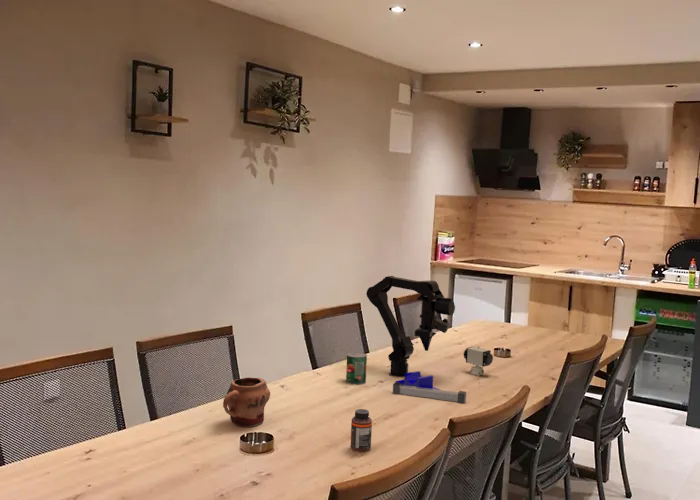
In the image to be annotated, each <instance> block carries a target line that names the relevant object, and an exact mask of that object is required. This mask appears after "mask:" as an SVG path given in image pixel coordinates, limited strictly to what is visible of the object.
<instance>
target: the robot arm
mask: <svg viewBox="0 0 700 500" xmlns="http://www.w3.org/2000/svg"><path fill="white" fill-rule="evenodd" d="M392 287H394V288H400V289H403V290H409V291H414V292H416V293H417V294H419V296H417V298H416V301H421V307H420V309H421V311H420V312H421V314H420V315H419V318H420V324H419V327H418V328H417V329H415V331H414V337H419V339H420V341H421V344H422V346H423V350H424V351H425V352H428V351H429V349H430V345H431V342H432V338H433V337H434V336H435V335H436V334H437V332H438V331H440V332H441V333H443V334H446V333H447V331H448V330H449V328H450V323H449V319H447V318H446V317H444V318H443V319H440V318H438V315H437V314H439V315H443V316H444V315H446V316H453V315H454V313H455V310H456V305H455V301H453V300H454V299H453V297H445V296H444V294H443V293H442V291H441V289H440V286H439V284H438V282H437V281H436V280H413V279H408V278H403V277H397V276H394V275H388V276H384V278H383V279H382V280H381V281H379V282H377V283H375V284H374V285H373V286H370V287H368V288H367V290H366V293H365V294H366V297H367V298H368V300H369V302H370V303H371V304H372V305H373V306H374V307H375V308H377V310H378V312H379V315H380V318H382V321H383V324H384V325H385V327H386V330H387V331H388V333H389V336H390V337H391V347H392V350H393V351H392V352H391V353H389V354H388V360H389V362H390V372H389V373H388V375H389V376H394V377H401V378H402V377H403V378H404V373H409V363H408V360H409V359H410V357H411V356H412V355H413V353H414V349H415V348H414V343H413V342H412V339H411V337H410V336H406V335H404V334H403V332H402V330H401V328H400V325H399V323H398V322H397V320H396V317H395V316H394V313H393V311H392V309H391V308H390V305H389V303H388V302H389V300H388V299H389V298H388V297H389V296H388V292H389V291H390V290H391V289H392ZM436 313H437V314H436ZM434 330H436V331H437V332H434Z"/></svg>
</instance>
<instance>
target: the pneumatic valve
mask: <svg viewBox="0 0 700 500" xmlns="http://www.w3.org/2000/svg"><path fill="white" fill-rule="evenodd" d="M463 358H464V359H465V363H466V364H471V365H472V366H471V368H470V372H471V373H470V374H471V375H473V376H477V377H480V376H482V375H484V374H485V370H484V368H485V367H488V366H490V365H491V364H493V363H492V362H493V360H494V355H493V354H492V353H491V350H490V349H485V348H481V347H480V346H477V347H476V346H470V347H467V348H465V350H464V351H463Z"/></svg>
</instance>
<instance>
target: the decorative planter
mask: <svg viewBox="0 0 700 500" xmlns="http://www.w3.org/2000/svg"><path fill="white" fill-rule="evenodd" d="M270 398H271V391H270V389H269V388H268V385H267V382H266V380H265V379H263V378H261V377H244V378H238V379H234V380H232V381H231V383H230V385H229V388H228V390H227V392H226V395H224V398H223V403H222V407H223V409H224V411H225V413H226V414H228V415H229V417H230V421H231V424H233V423H234V424H233V425H235V424H236V425H235V426H237V425H240V426H239V427H243V426H244V427H245V428H248V427H255V426H258V425H261V424H262V423H263V422H264V421H265V407H266V404H267V403H268V402H269V400H270Z"/></svg>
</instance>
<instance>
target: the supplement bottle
mask: <svg viewBox="0 0 700 500" xmlns="http://www.w3.org/2000/svg"><path fill="white" fill-rule="evenodd" d="M372 423H373V420H372V418H371V417H370V411H369V410H368V409H366V408H365V409H364V408H358V409H355V411H354V416H353V417H352V418H351V425H350V426H351V427H350V430H351V431H350V449H351V450H352V451H355V452H358V451H359V453H363V452H365V453H366V452H368V451H370V450H371V449H372V448H371V447H372V434H373V433H372V429H373V424H372Z"/></svg>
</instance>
